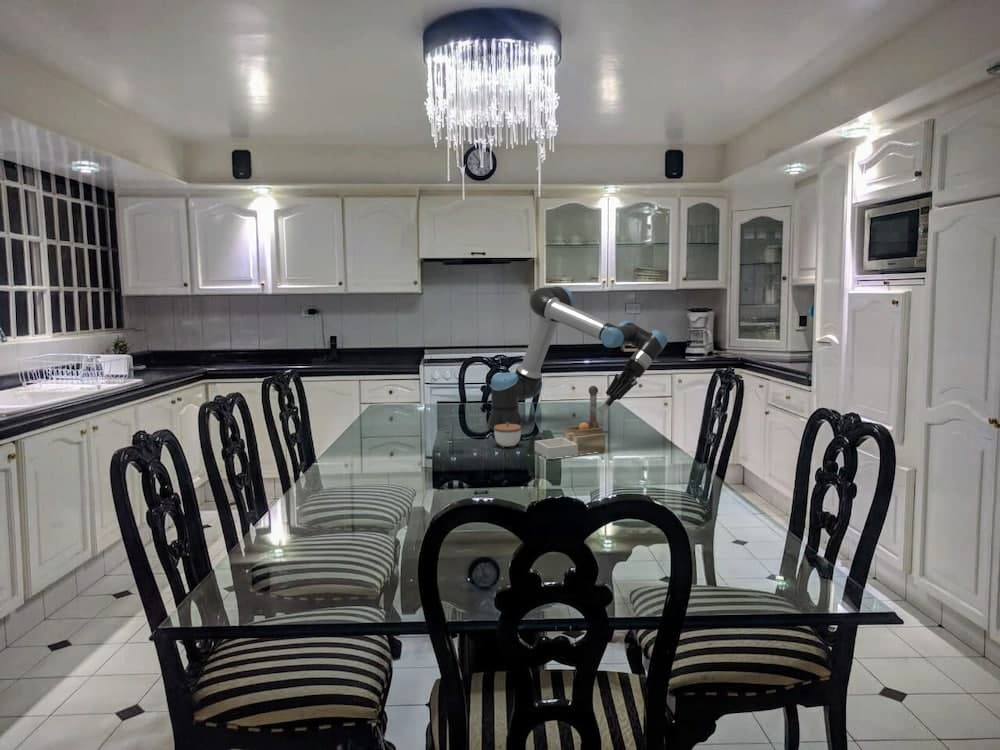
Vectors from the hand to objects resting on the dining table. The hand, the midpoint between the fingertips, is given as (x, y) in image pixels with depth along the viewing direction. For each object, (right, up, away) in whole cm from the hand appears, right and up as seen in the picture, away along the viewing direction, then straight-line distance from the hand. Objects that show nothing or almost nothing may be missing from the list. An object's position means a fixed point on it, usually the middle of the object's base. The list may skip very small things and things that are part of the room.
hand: (600, 410), depth 278 cm
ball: (-6, -6, -1) cm, 9 cm away
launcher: (-6, -15, 0) cm, 16 cm away
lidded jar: (-35, -14, +9) cm, 39 cm away
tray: (-17, -16, -5) cm, 24 cm away
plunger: (-3, -8, +1) cm, 8 cm away
